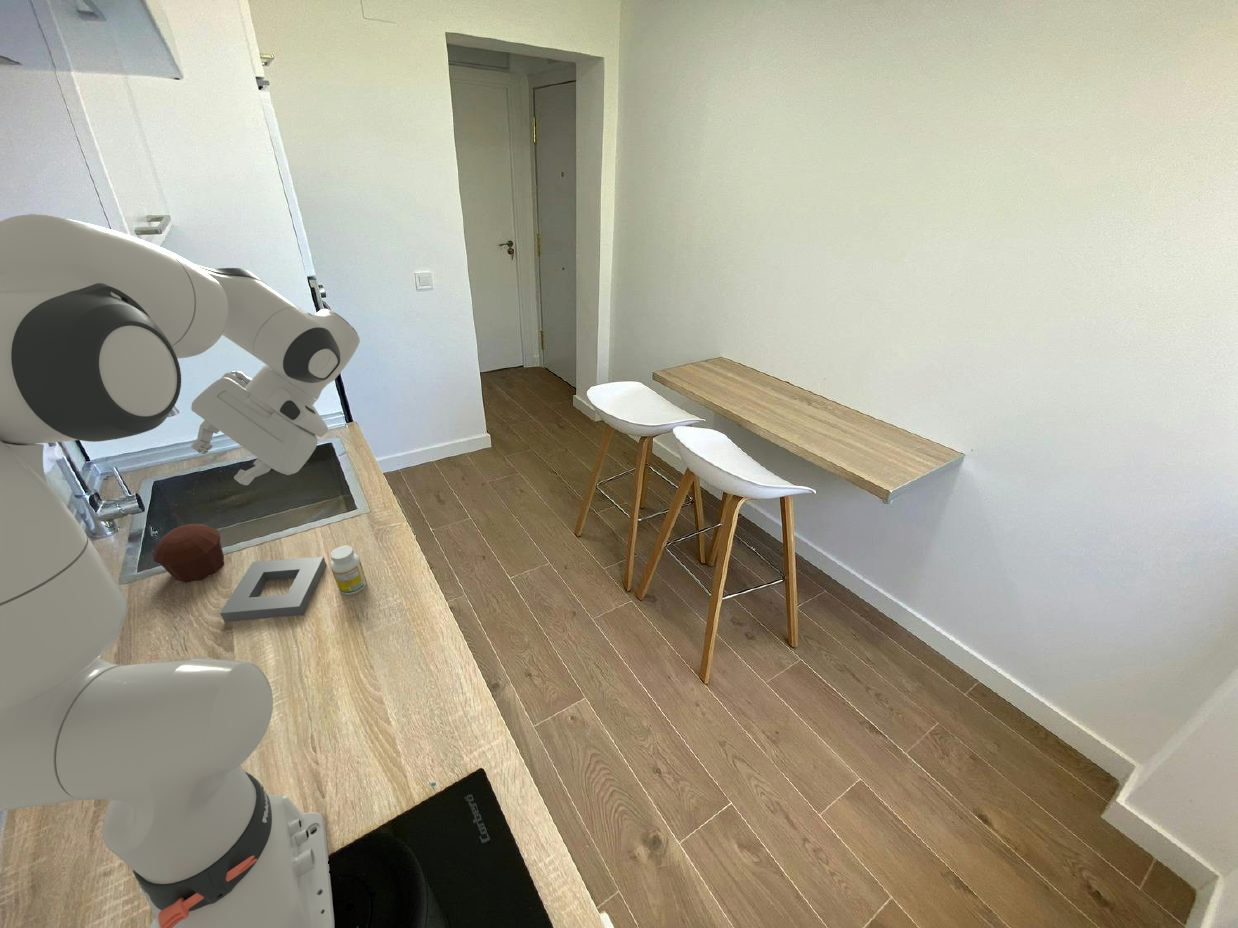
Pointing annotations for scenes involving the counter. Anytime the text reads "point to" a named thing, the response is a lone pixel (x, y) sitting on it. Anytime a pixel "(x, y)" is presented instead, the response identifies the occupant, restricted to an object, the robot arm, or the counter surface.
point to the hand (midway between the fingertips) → (218, 466)
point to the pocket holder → (291, 604)
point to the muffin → (190, 552)
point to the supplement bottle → (347, 570)
